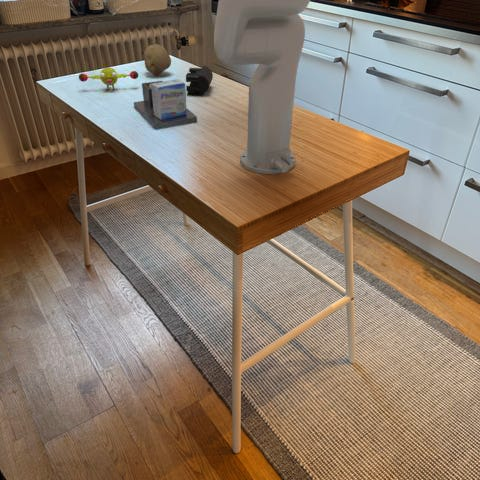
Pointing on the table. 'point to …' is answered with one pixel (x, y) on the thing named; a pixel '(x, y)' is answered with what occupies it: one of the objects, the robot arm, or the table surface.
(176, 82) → the medicine box
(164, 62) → the natural sponge
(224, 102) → the table surface
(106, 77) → the toy figure
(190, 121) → the grey stand
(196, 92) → the end cap
